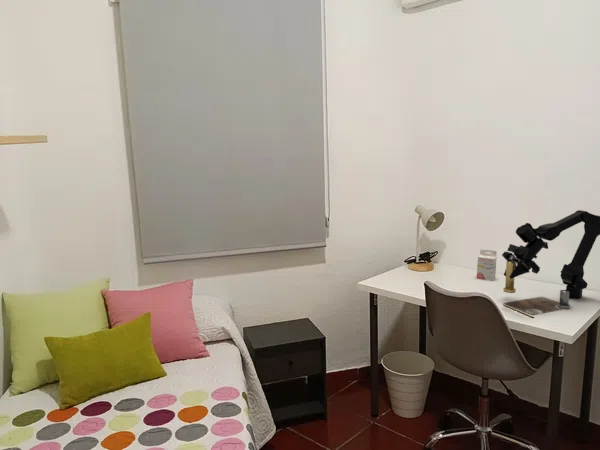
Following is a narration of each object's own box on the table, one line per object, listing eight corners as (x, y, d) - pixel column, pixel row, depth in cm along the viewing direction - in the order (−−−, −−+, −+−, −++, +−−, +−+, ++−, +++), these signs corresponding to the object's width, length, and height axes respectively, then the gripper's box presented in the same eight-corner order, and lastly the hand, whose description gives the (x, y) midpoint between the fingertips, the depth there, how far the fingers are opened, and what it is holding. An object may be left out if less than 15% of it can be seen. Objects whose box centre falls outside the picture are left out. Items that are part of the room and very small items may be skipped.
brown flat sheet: (542, 299, 219) (542, 296, 219) (575, 311, 203) (575, 308, 203) (503, 305, 212) (503, 303, 212) (534, 319, 196) (534, 316, 196)
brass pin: (508, 288, 213) (509, 260, 211) (517, 291, 209) (519, 262, 207) (500, 290, 211) (502, 261, 209) (510, 293, 207) (511, 264, 204)
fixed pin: (563, 304, 208) (564, 288, 207) (572, 308, 204) (574, 292, 202) (554, 306, 206) (555, 290, 205) (564, 309, 202) (565, 293, 201)
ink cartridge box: (476, 278, 253) (477, 250, 250) (478, 276, 257) (479, 248, 254) (493, 280, 248) (495, 252, 246) (495, 278, 252) (497, 250, 250)
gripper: (506, 233, 216) (483, 259, 215) (535, 242, 198) (509, 270, 197) (521, 249, 219) (498, 275, 218) (550, 259, 201) (525, 287, 200)
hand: (507, 276), depth 208 cm, fingers closed on brass pin, 3 cm apart
